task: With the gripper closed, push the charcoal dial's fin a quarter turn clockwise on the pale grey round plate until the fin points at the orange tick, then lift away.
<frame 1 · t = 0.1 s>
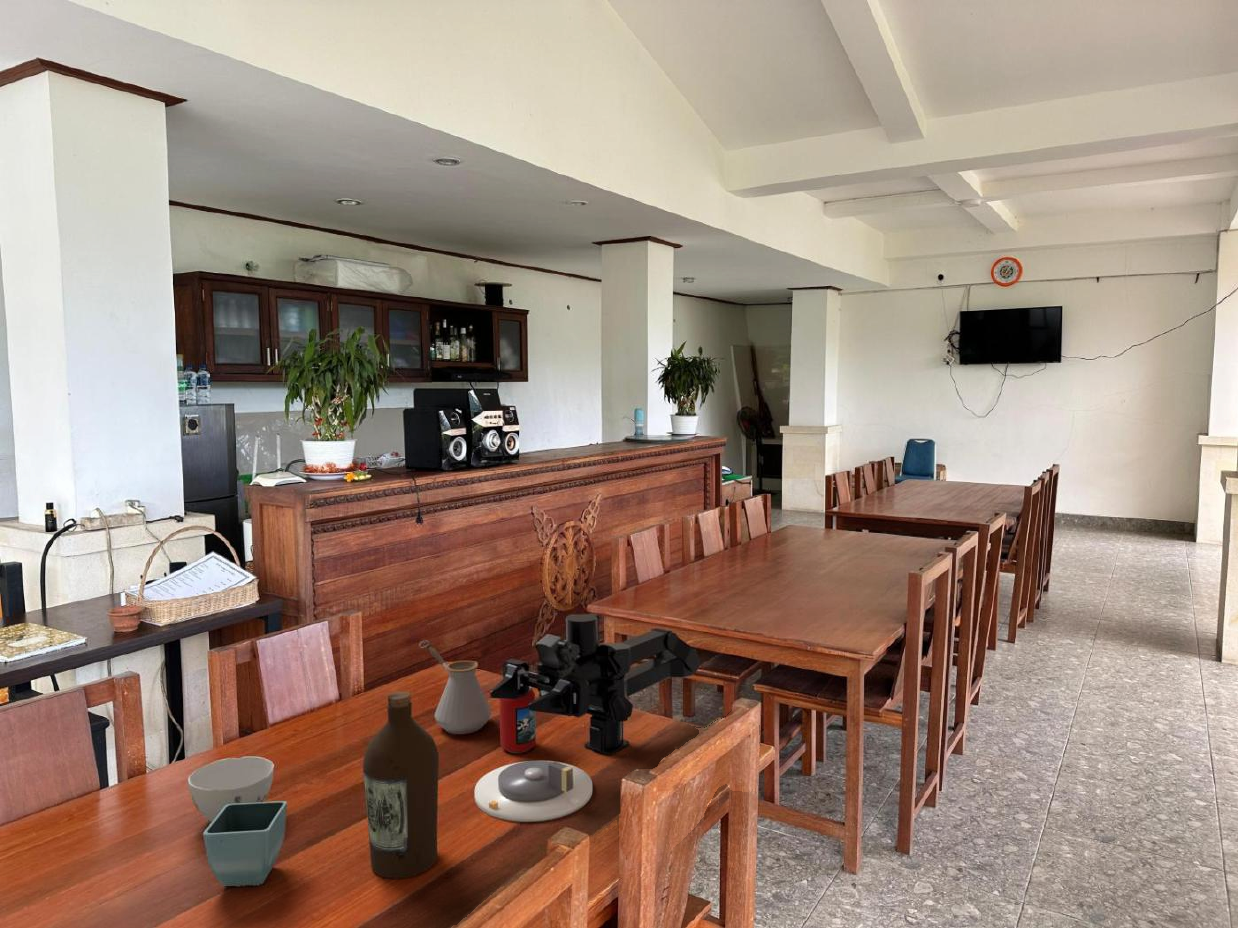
hand: (509, 700, 142), 17 cm above the table, tool horizontal, fingers open, 9 cm apart
coffee pot: (450, 720, 176), on the table
dial: (538, 771, 143), point 4 cm above the table, hinge at 0.0°
flower pot: (249, 878, 120), on the table
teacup: (231, 816, 137), on the table
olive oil: (403, 862, 124), on the table
plate: (533, 791, 145), on the table
beverage can: (518, 748, 162), on the table
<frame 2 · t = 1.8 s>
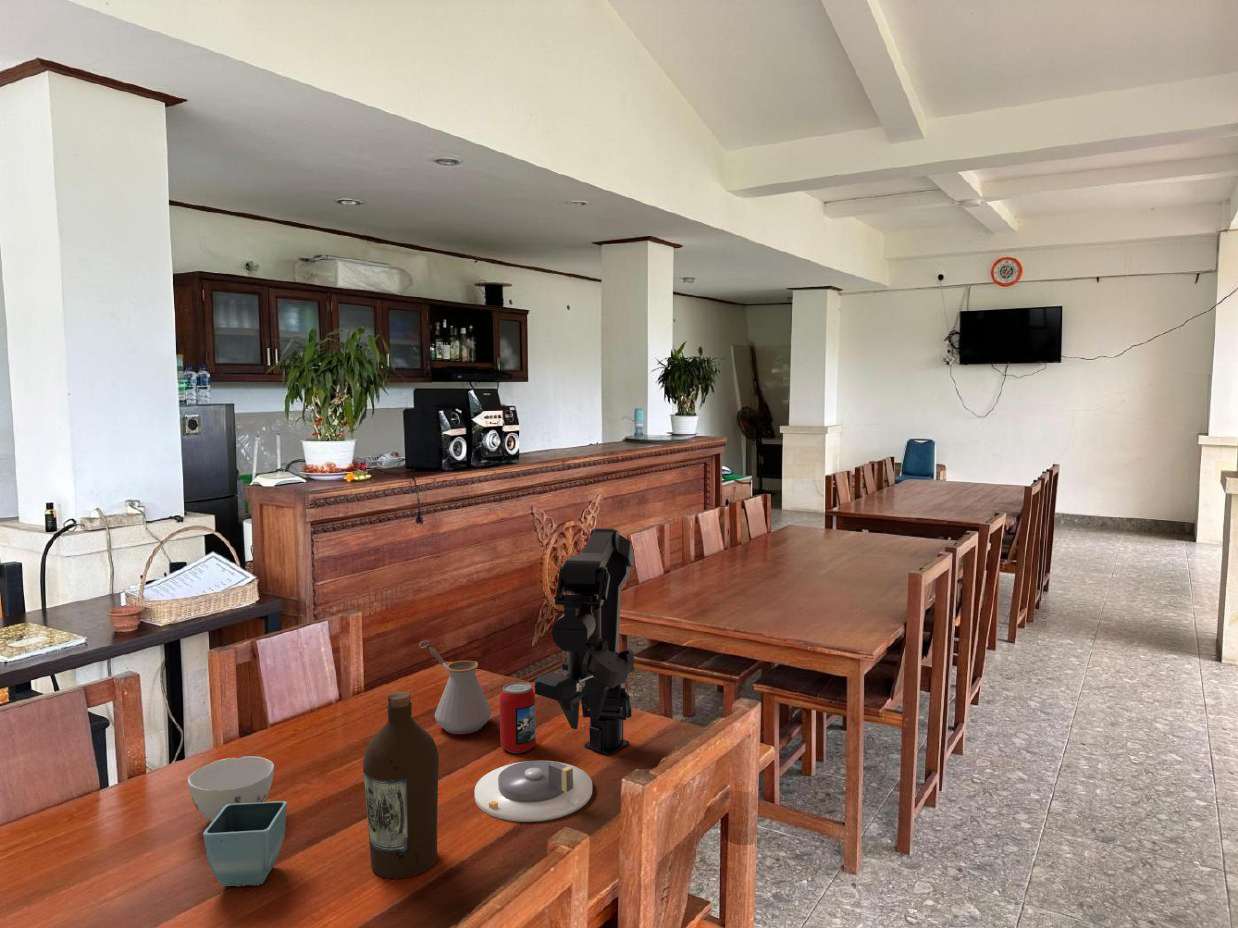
hand: (585, 723, 143), 12 cm above the table, tool pointing down, fingers open, 5 cm apart
nothing on the table moved.
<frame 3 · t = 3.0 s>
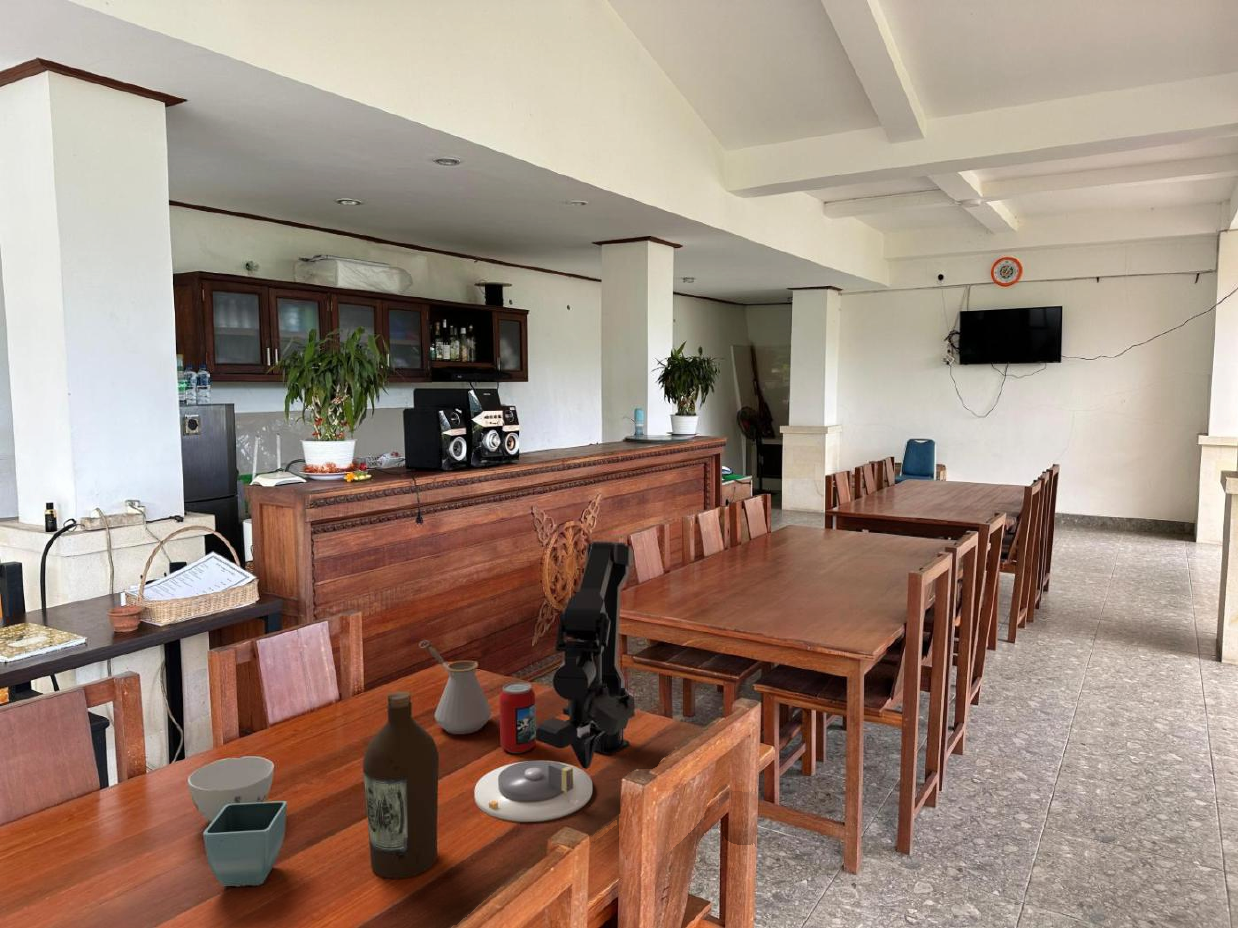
hand: (585, 767, 144), 4 cm above the table, tool pointing down, fingers closed
nothing on the table moved.
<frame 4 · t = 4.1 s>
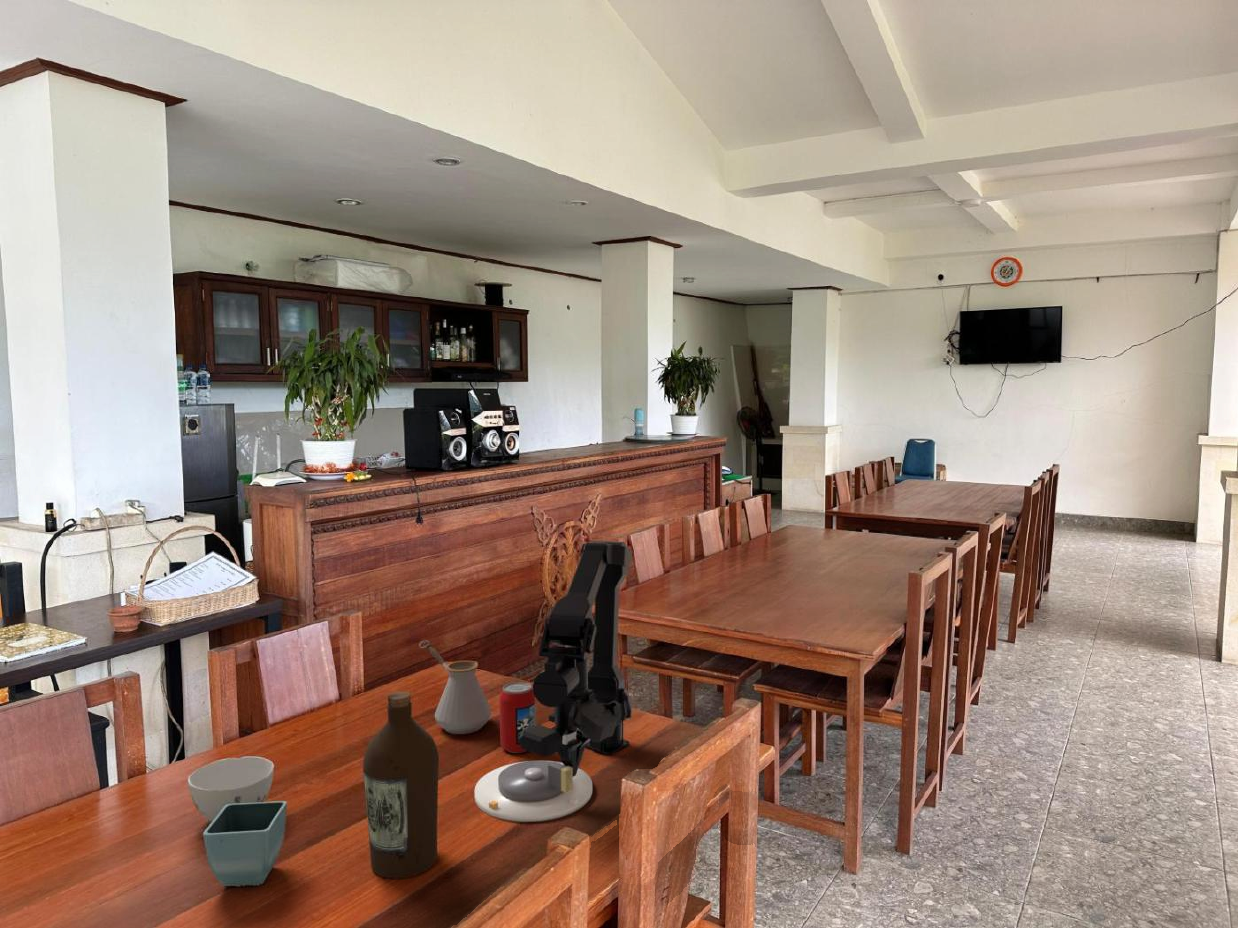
hand: (572, 775, 141), 4 cm above the table, tool pointing down, fingers closed
dial: (538, 771, 143), point 4 cm above the table, hinge at -0.9°, touching gripper
everything else where it was.
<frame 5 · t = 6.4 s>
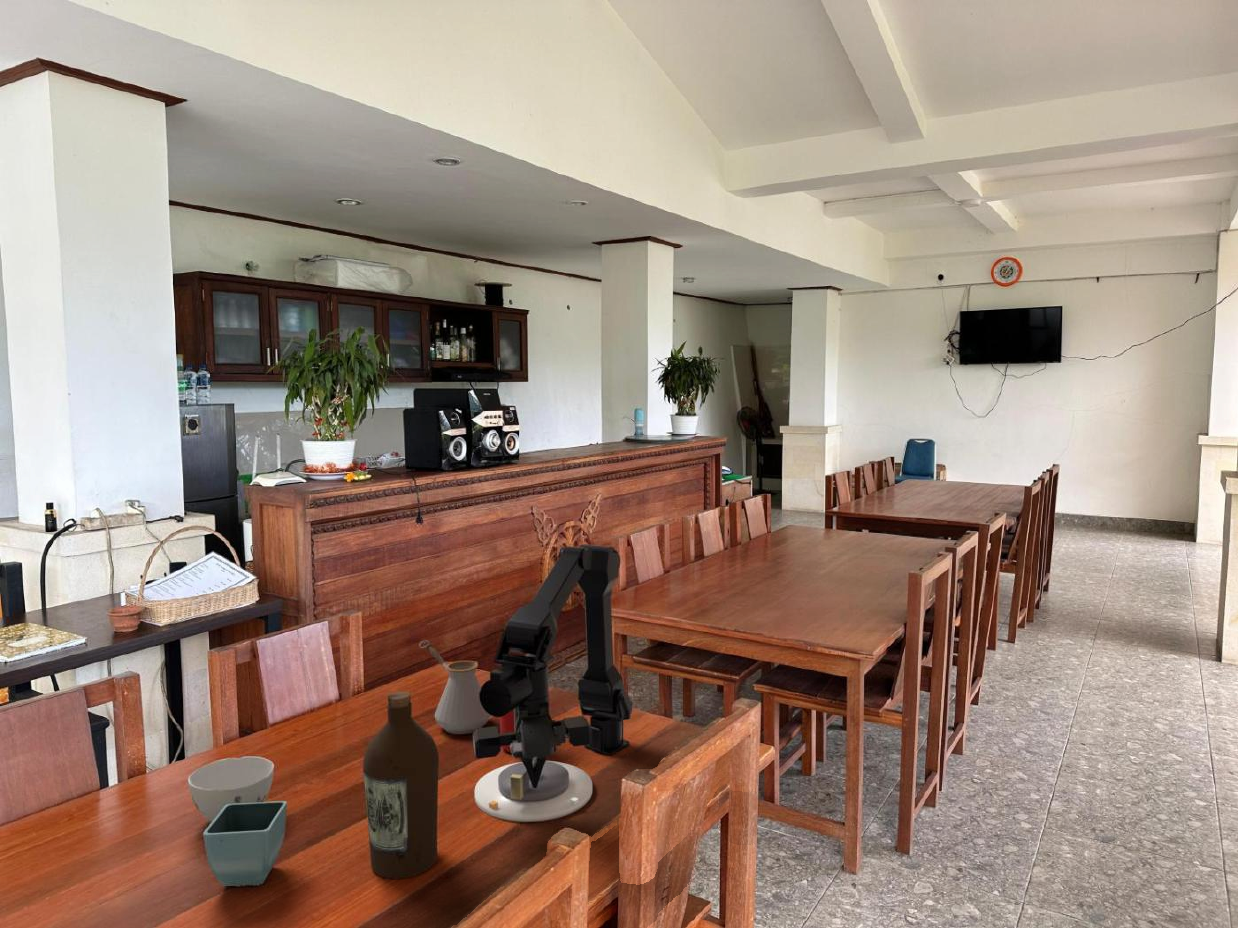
hand: (534, 787, 137), 4 cm above the table, tool pointing down, fingers closed
dial: (531, 773, 143), point 4 cm above the table, hinge at -65.7°, touching gripper
everything else where it was.
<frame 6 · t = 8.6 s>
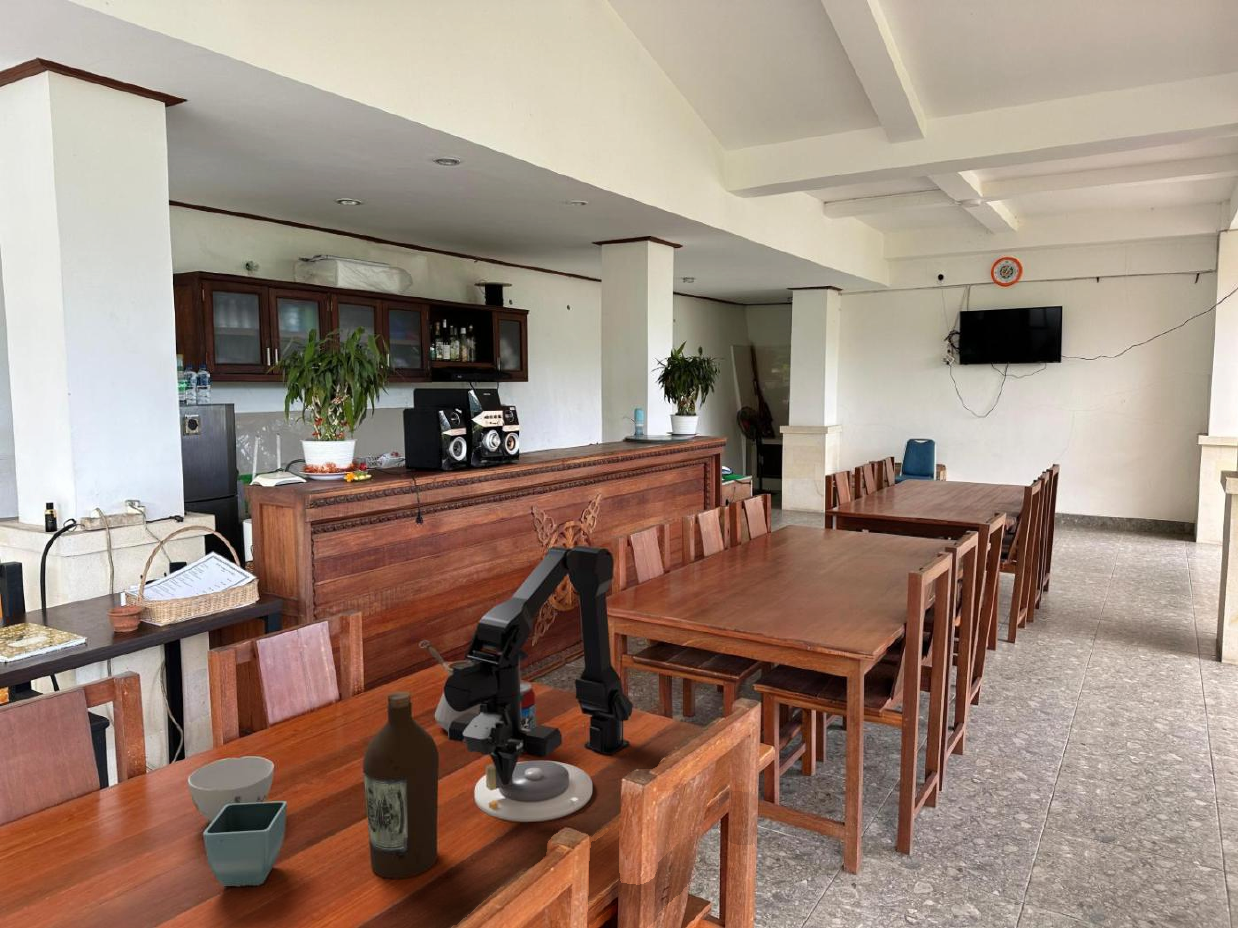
hand: (505, 783, 139), 4 cm above the table, tool pointing down, fingers closed
dial: (527, 771, 144), point 4 cm above the table, hinge at -109.2°, touching gripper
everything else where it was.
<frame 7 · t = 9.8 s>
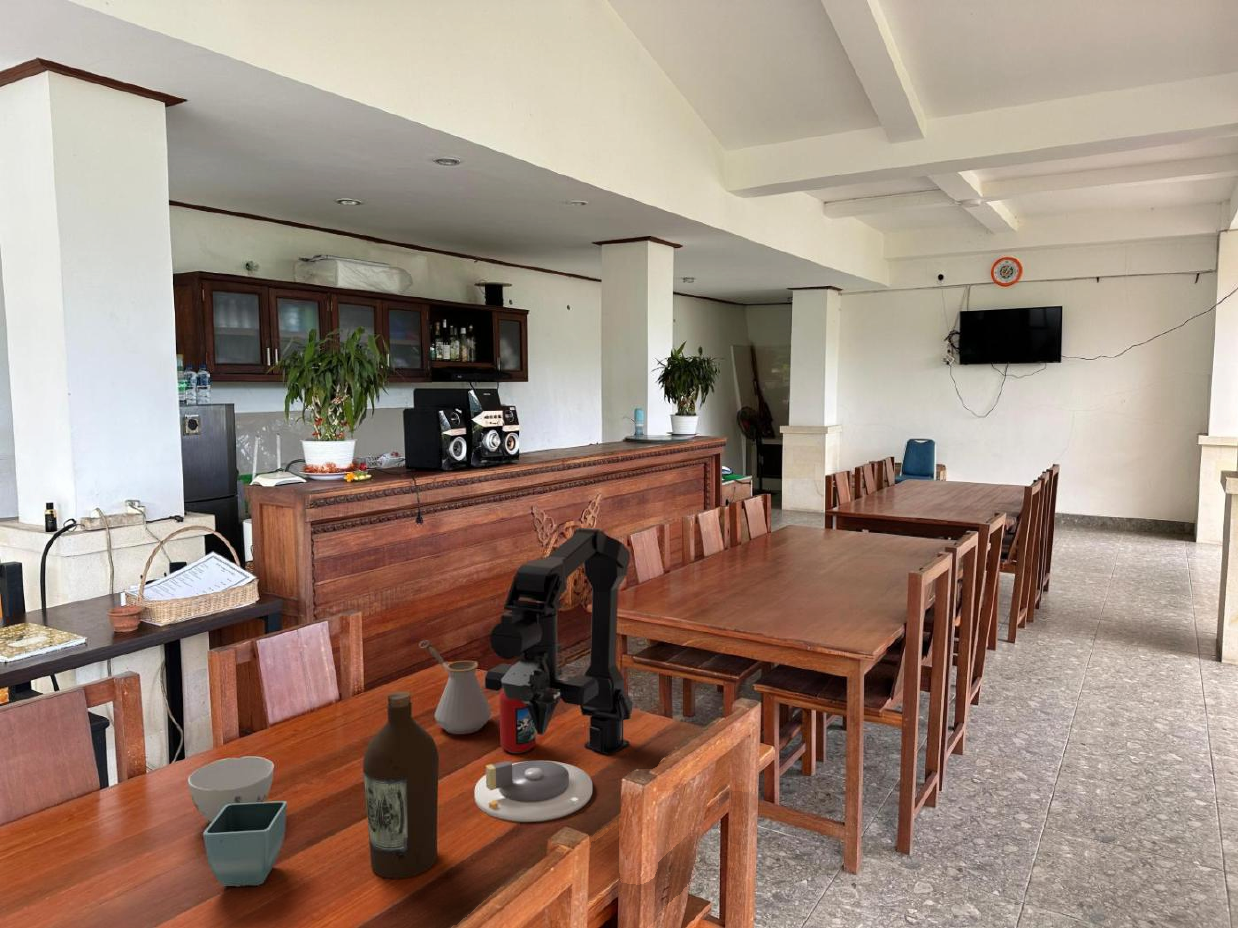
hand: (541, 733, 139), 12 cm above the table, tool pointing down, fingers closed
dial: (527, 771, 144), point 4 cm above the table, hinge at -109.3°
everything else where it was.
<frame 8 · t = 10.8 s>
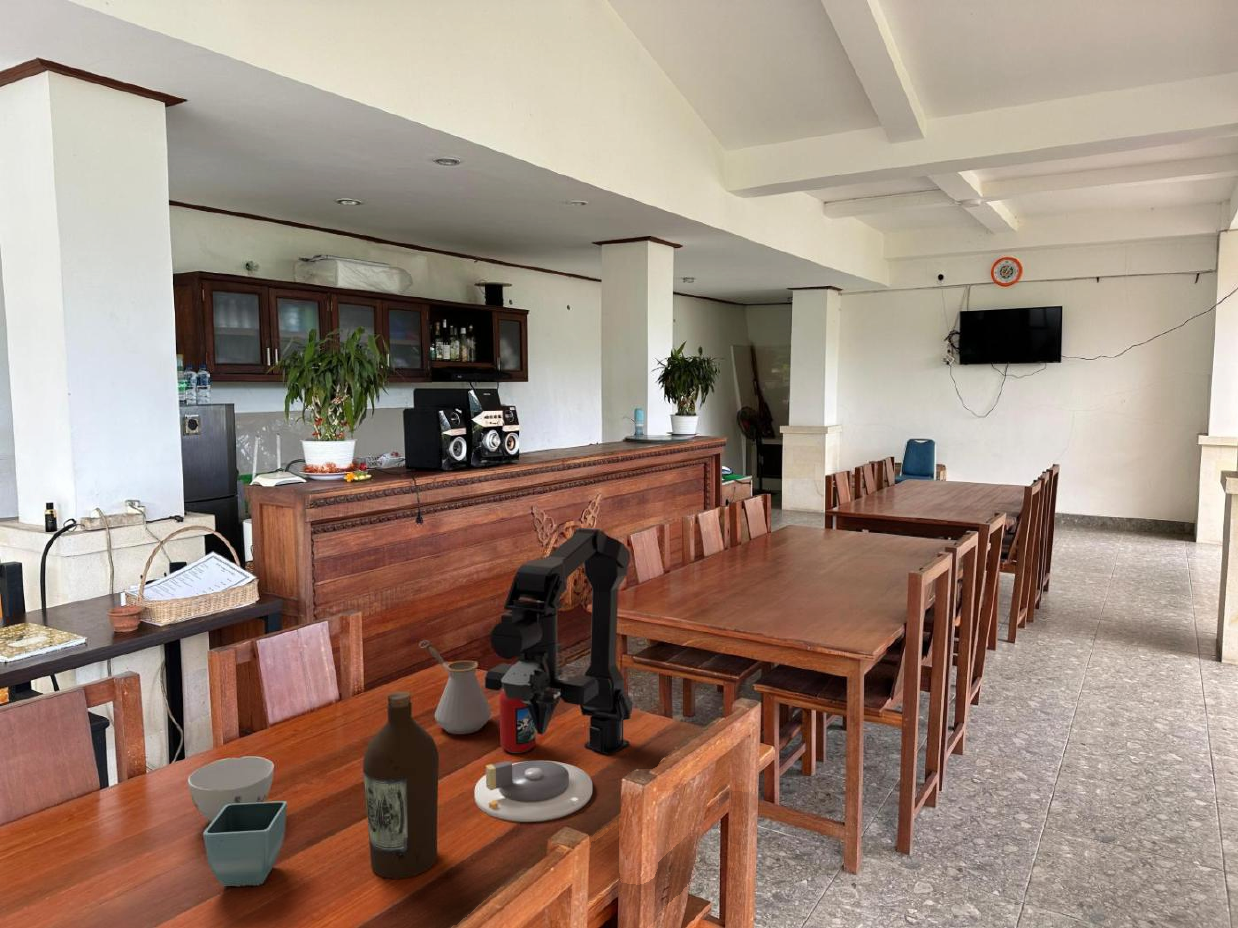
hand: (541, 733, 139), 12 cm above the table, tool pointing down, fingers closed
nothing on the table moved.
at the end: dial at -109° (first picture: +0°); dial touching nothing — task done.
